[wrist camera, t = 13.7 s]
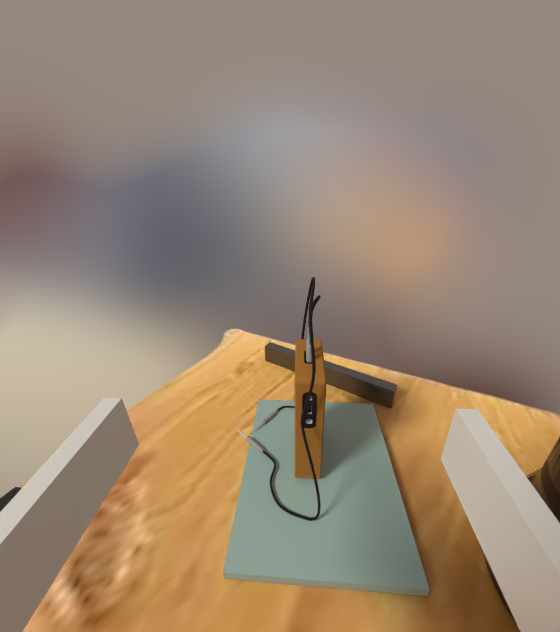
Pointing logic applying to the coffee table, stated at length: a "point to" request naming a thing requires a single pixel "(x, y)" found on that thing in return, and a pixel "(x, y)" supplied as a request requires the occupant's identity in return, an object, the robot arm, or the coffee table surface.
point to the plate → (324, 509)
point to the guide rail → (339, 376)
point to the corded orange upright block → (306, 408)
